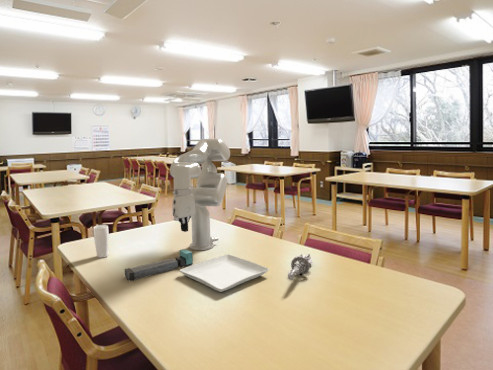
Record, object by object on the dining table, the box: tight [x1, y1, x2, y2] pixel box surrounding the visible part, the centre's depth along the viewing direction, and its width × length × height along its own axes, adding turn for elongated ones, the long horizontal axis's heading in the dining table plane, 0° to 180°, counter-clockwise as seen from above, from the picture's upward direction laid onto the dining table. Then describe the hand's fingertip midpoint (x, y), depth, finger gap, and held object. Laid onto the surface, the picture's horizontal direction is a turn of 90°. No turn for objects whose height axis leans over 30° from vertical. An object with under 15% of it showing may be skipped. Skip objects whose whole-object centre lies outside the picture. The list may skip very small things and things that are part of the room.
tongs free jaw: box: [124, 257, 176, 279], centre depth 150 cm, size 22×3×3 cm, turn 128°
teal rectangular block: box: [178, 248, 194, 265], centre depth 159 cm, size 3×7×5 cm, turn 38°
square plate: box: [179, 253, 270, 293], centre depth 145 cm, size 27×27×4 cm
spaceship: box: [287, 253, 313, 280], centre depth 145 cm, size 8×35×8 cm
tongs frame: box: [126, 255, 194, 282], centre depth 151 cm, size 29×6×3 cm, turn 128°
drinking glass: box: [92, 224, 110, 259], centre depth 169 cm, size 7×7×15 cm
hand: (184, 230), depth 161 cm, fingers closed
